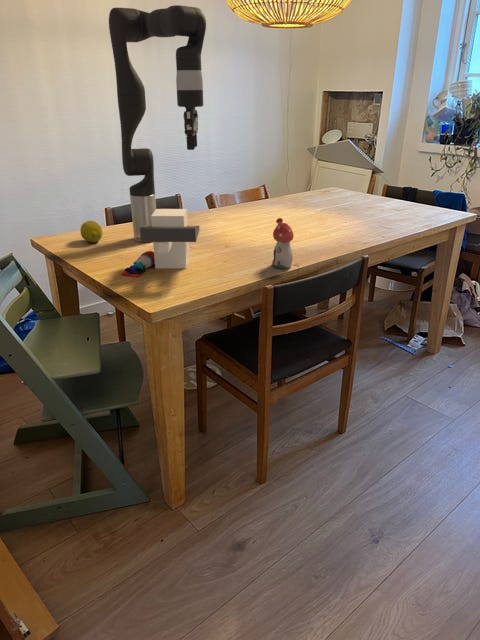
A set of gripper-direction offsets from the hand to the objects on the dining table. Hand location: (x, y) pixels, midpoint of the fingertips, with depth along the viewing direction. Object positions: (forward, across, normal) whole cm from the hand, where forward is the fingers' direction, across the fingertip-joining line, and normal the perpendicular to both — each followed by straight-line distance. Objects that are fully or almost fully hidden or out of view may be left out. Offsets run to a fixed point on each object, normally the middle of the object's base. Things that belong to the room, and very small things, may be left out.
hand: (192, 148), depth 144 cm
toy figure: (+37, -7, +17) cm, 41 cm away
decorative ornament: (+36, -3, -28) cm, 46 cm away
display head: (+36, -7, +8) cm, 38 cm away
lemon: (+36, +25, +42) cm, 61 cm away
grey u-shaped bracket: (+24, -10, +6) cm, 27 cm away
